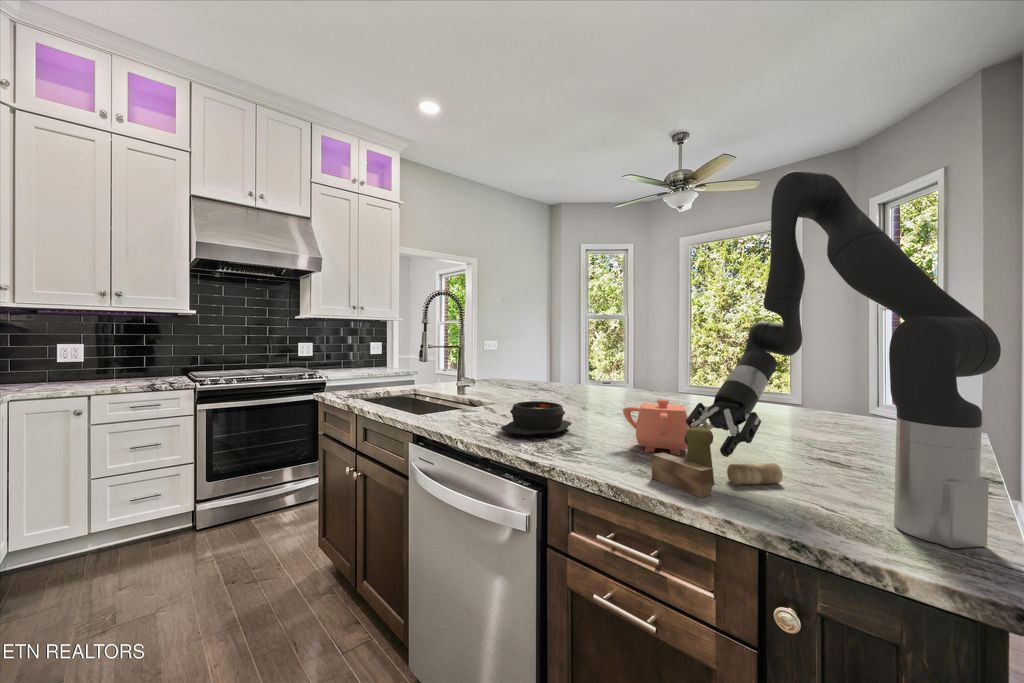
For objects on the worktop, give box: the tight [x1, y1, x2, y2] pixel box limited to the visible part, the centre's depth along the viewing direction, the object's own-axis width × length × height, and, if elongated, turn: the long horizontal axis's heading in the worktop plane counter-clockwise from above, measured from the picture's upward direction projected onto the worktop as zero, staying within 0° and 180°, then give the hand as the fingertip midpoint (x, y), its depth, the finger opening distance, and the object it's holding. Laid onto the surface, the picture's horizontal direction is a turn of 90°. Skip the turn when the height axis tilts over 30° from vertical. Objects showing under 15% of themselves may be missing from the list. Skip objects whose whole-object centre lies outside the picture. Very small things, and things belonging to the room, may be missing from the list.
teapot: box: [622, 399, 711, 455], centre depth 113 cm, size 17×16×13 cm
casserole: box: [500, 400, 573, 436], centre depth 132 cm, size 25×19×8 cm
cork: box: [685, 427, 715, 486], centre depth 88 cm, size 6×6×11 cm
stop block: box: [651, 452, 714, 498], centre depth 85 cm, size 12×3×5 cm, turn 27°
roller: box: [726, 462, 784, 486], centre depth 88 cm, size 9×4×4 cm
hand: (704, 448), depth 88 cm, fingers open, 8 cm apart
